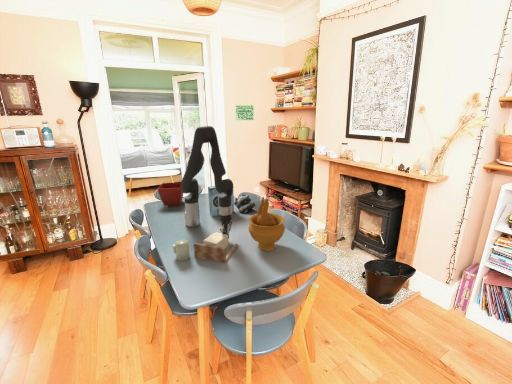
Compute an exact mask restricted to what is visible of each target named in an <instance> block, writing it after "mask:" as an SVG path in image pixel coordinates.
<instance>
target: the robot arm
mask: <svg viewBox="0 0 512 384" xmlns="http://www.w3.org/2000/svg"><path fill="white" fill-rule="evenodd" d="M207 143H209V144H210V148H211V151H210V152H211V154H210V159H209V161H210V167H211V170H212V173H213V178H214V186H215V188H216V190H217V191H218V192H219V193H223V192H224V193H223V195H221V196H220V197H219V215H218V216H219V221H220V222H221V227H220V228H219V231H220V233H222V234H226V235H228V240H229V239H230V231H231V229H232V224H233V221H232V220H233V212H232V207H231V197H232V192H233V193H234V183H233V181H232V179H230V178H226V179H225V178H224V179H223V176H225V175H226V173H227V172H226V169H225V165H224V163H223V160H222V157H221V152H220V146H219V141H218V135H217V132H216V130H215V128H214V127H213V126H210V125H206V126H204V125H203V126H198V127H196V129H195V131H194V134H193V140H192V146H191V147H192V148H191V151H190V155H189V157H188V162H187V165H186V169H185V172H184V174H183V177H182V179H181V181H180V182H181V191H182V192H183V194H188V195H187V196H186V197H184V207H185V212H184V221H185V226H186V227H189V228H195V227H198V226H200V225H201V221H200V220H201V218H200V207H199V206H200V205H199V197H200V193H199V191H200V189H199V187H200V186H199V183H198V180H197V178H195V177H196V176H197V175H198V174H199V173H200V172H201V170H202V169H203V166H204V163H205V156H204V154H203V152H202V149H203V145H204V144H207Z"/></svg>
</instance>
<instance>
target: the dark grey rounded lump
mask: <svg viewBox="0 0 512 384" xmlns="http://www.w3.org/2000/svg"><path fill="white" fill-rule="evenodd" d="M234 207H236V208H237V210H238V211H239V213H240V214H245V213H248V212H249V211H250V210H252V209H254V208H255V207H257V206H256V203H255V202H254V201H252V198H250V195H248V194H247V195H245V194H242V195H241V196H240V197H238V198H237V197H236V198H235V200H234Z"/></svg>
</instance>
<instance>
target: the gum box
mask: <svg viewBox="0 0 512 384" xmlns="http://www.w3.org/2000/svg"><path fill="white" fill-rule="evenodd" d="M207 192H208V206H209V207H208V209H209V216H211V217H212V218H213V217H216V216H219V197H220V196H221V195H223V193H224V192H223V193H219V192H218V191H217V190H216V188H215V185H212V186H207ZM234 197H235V195H234V191H233V192H232V197H231V207H232V213H234V212H235V204H234V202H235V200H234Z"/></svg>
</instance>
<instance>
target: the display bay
mask: <svg viewBox="0 0 512 384" xmlns="http://www.w3.org/2000/svg"><path fill="white" fill-rule="evenodd" d="M238 247H239V244H238V243H235V244H234V245H233V246H232V248H231V249H230V250H229V251H228V252H227V254H226V248H224V247H218V246H212V245H206V244H203V243H200V242H198V243H197V242H195V243H193V250H194V258H198V259H203V260H207V261H215V262H220V263H226V262H227V261H228V259H229V258H230V257H231V256H232V254H233V253H234V252H235V251H236V250H237V248H238Z"/></svg>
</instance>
